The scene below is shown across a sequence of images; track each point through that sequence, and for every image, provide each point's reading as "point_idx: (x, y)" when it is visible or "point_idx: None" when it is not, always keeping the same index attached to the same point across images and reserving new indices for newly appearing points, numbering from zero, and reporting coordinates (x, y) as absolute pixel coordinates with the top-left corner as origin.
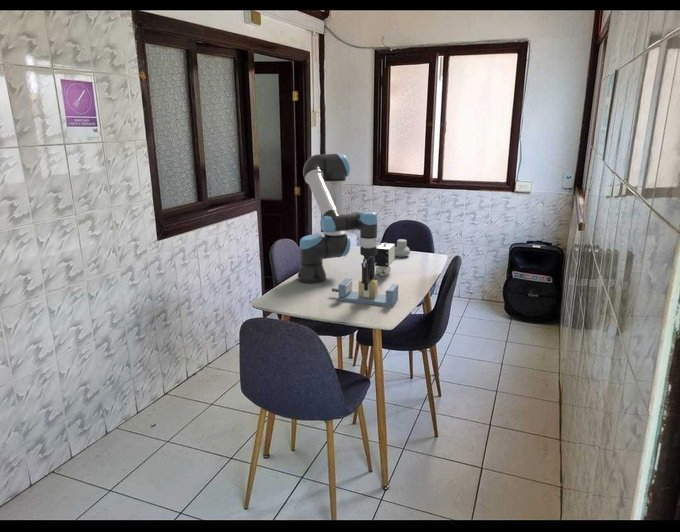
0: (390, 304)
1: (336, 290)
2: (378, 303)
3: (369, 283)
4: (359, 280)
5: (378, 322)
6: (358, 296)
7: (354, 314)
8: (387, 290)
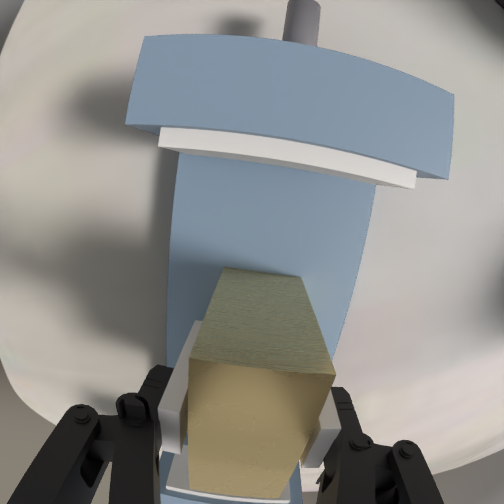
0: None
1: (283, 37)
2: None
3: (176, 451)
4: (227, 366)
5: (11, 369)
6: (249, 260)
7: (16, 270)
8: None
